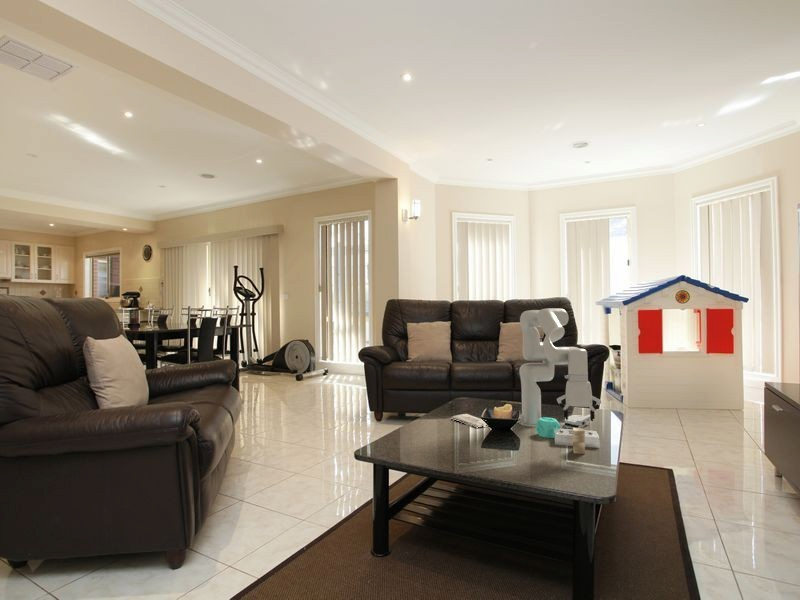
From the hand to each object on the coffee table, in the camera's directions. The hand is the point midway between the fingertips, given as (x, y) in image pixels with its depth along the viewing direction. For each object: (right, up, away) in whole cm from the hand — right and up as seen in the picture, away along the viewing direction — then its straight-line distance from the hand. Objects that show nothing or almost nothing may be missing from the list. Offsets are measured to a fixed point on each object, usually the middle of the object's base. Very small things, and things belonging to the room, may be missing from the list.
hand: (579, 419), depth 183 cm
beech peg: (0, -14, 0) cm, 14 cm away
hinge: (+20, -12, +39) cm, 45 cm away
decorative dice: (-5, -15, +25) cm, 29 cm away
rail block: (+4, -14, +13) cm, 19 cm away
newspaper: (-37, -16, +49) cm, 63 cm away
